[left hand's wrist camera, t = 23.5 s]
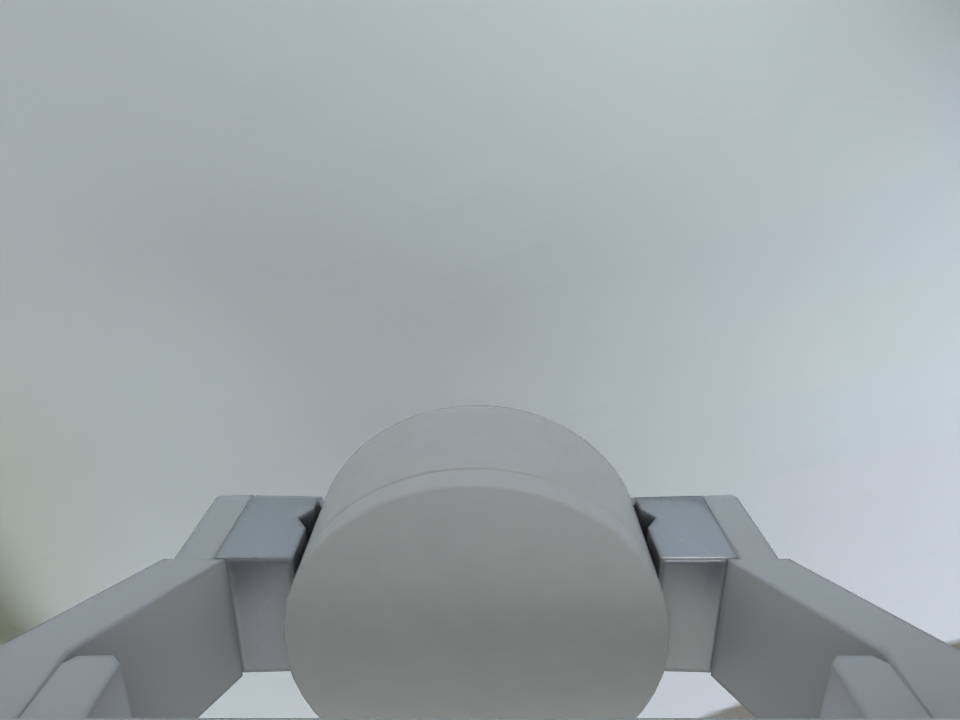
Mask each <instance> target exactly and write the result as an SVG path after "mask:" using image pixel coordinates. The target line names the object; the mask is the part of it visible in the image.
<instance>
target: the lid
mask: <svg viewBox="0 0 960 720" xmlns="http://www.w3.org/2000/svg"><path fill="white" fill-rule="evenodd" d="M283 640H284V646H285V652H286V657H287V662H288V665H289V667H290V670H291V673H292V676H293V679H294V681H295V683H296V684H297V686H298V688H299V690H300V692H301V694H302V696H303V697H304V699H305V700H306V701H307V703H308V704H309V705H310V707H311V708H312V709H313V711H314V712H315V713H316V714H317V715H318V716H319V717H320V718H636V717H637V716H638V715H639V714H640V713H641V712H642V711H643V709H644V708H645V706H646V705H647V703H648V702H649V700H650V699H651V697H652V696H653V694H654V693H655V691H656V688H657V686H658V684H659V682H660V680H661V678H662V675H663V672H664V669H665V665H666V661H667V658H668V653H669V643H670V622H669V613H668V609H667V605H666V601H665V596H664V593H663V590H662V587H661V584H660V581H659V579H658V577H657V573H656V570H655V567H654V564H653V561H652V558H651V555H650V552H649V549H648V546H647V543H646V541H645V538H644V535H643V532H642V529H641V526H640V523H639V520H638V517H637V514H636V511H635V508H634V505H633V503H632V500H631V498H630V496H629V493H628V491H627V489H626V486H625V485H624V483H623V481H622V480H621V478H620V477H619V475H618V473H617V472H616V470H615V469H614V468H613V467H612V465H611V464H610V463H609V462H608V461H607V460H606V458H605V457H604V456H603V455H602V454H601V453H600V452H599V451H597V450H596V449H595V448H594V447H593V446H592V445H591V444H590V443H588V442H587V441H586V440H584V439H583V438H581V437H580V436H578V435H577V434H575V433H574V432H572V431H571V430H569V429H567V428H565V427H563V426H561V425H559V424H557V423H555V422H553V421H551V420H549V419H546V418H543V417H540V416H537V415H535V414H532V413H529V412H525V411H520V410H515V409H511V408H506V407H495V406H485V405H481V406H458V407H450V408H443V409H438V410H434V411H430V412H427V413H423V414H419V415H416V416H414V417H411V418H409V419H406V420H404V421H401V422H399V423H397V424H395V425H393V426H391V427H390V428H388V429H386V430H384V431H382V432H381V433H379V434H378V435H376V436H375V437H373V438H372V439H371V440H369V441H368V442H367V443H365V444H364V445H363V446H362V447H361V448H360V449H359V450H358V451H357V452H356V453H355V454H354V455H353V456H352V457H351V458H350V459H349V460H348V461H347V462H346V463H345V465H344V466H343V467H342V469H341V470H340V471H339V473H338V474H337V476H336V477H335V479H334V481H333V483H332V485H331V487H330V489H329V491H328V493H327V495H326V498H325V501H324V503H323V506H322V508H321V511H320V513H319V516H318V519H317V521H316V524H315V526H314V529H313V531H312V534H311V537H310V539H309V542H308V544H307V547H306V549H305V552H304V555H303V557H302V560H301V563H300V565H299V567H298V570H297V573H296V575H295V578H294V580H293V583H292V586H291V589H290V592H289V595H288V597H287V600H286V606H285V612H284V618H283Z"/></svg>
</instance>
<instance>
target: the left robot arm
mask: <svg viewBox="0 0 960 720" xmlns="http://www.w3.org/2000/svg"><path fill="white" fill-rule="evenodd" d="M631 500H632V503H633V505H634V508H635V511H636V514H637V517H638V520H639V523H640V526H641V529H642V532H643V535H644V538H645V541H646V543H647V546H648V549H649V552H650V555H651V558H652V561H653V564H654V567H655V570H656V573H657V577H658V579H659V581H660V584H661V587H662V590H663V593H664V596H665V601H666V605H667V609H668V613H669V622H670V643H669V653H668V658H667V661H666V665H665V669H664V671H682V672H711V676H712V677H713V678H714V679H715V680H716V681H718V682H719V683H720V684H721V685H722V686H723V687H724V688H725V689H726V690H727V691H728V692H729V693H730V694H731V695H732V696H733V697H734V698H735V699H736V700H738V701H739V702H740V703H741V704H742V705H743V706H744V707H745V708H746V709H747V710H748V711H749V712H750V713H751V714H752V715H753V716H754V717H755V718H198V717H199V716H200V715H201V714H202V713H203V712H204V711H206V710H207V709H208V708H209V707H210V706H211V705H212V704H213V703H214V702H215V701H216V700H217V699H218V698H219V697H220V696H222V695H223V694H224V693H225V692H226V691H227V690H228V689H229V688H230V687H231V686H232V685H233V684H234V683H235V682H236V681H237V680H239V679H240V678H241V677H242V672H271V671H291V670H290V667H289V665H288V662H287V657H286V652H285V646H284V640H283V618H284V612H285V606H286V600H287V597H288V595H289V592H290V589H291V586H292V583H293V580H294V578H295V575H296V573H297V570H298V567H299V565H300V563H301V560H302V557H303V555H304V552H305V549H306V547H307V544H308V542H309V539H310V537H311V534H312V531H313V529H314V526H315V524H316V521H317V519H318V516H319V513H320V511H321V508H322V506H323V503H324V501H323V499H322V497H311V496H260V495H257V496H254V495H223V496H220V497H217V498H216V499H215V500H214V502H213V503H212V505H211V506H210V508H209V509H208V511H207V512H206V514H205V515H204V516H203V518H202V519H201V521H200V522H199V524H198V525H197V527H196V528H195V529H194V531H193V532H192V534H191V535H190V537H189V538H188V540H187V541H186V543H185V544H184V545H183V547H182V548H181V550H180V551H179V553H178V554H177V556H176V557H175V558H174V559H163V560H161V561H159V562H157V563H155V564H153V565H152V566H150V567H148V568H146V569H144V570H142V571H140V572H138V573H136V574H135V575H133V576H131V577H129V578H127V579H125V580H123V581H121V582H120V583H118V584H116V585H114V586H112V587H110V588H108V589H106V590H104V591H103V592H101V593H99V594H97V595H95V596H93V597H91V598H89V599H87V600H86V601H84V602H82V603H80V604H78V605H76V606H74V607H72V608H71V609H69V610H67V611H65V612H63V613H61V614H59V615H57V616H55V617H54V618H52V619H50V620H48V621H46V622H44V623H42V624H40V625H38V626H37V627H35V628H33V629H31V630H29V631H27V632H25V633H23V634H22V635H20V636H18V637H16V638H14V639H12V640H10V641H8V642H6V643H5V644H3V645H1V646H0V720H960V650H958V649H956V648H954V647H952V646H950V645H948V644H947V643H945V642H943V641H941V640H939V639H937V638H935V637H934V636H932V635H930V634H928V633H926V632H924V631H922V630H921V629H919V628H917V627H915V626H913V625H911V624H909V623H907V622H906V621H904V620H902V619H900V618H898V617H896V616H894V615H893V614H891V613H889V612H887V611H885V610H883V609H881V608H880V607H878V606H876V605H874V604H872V603H870V602H868V601H867V600H865V599H863V598H861V597H859V596H857V595H855V594H854V593H852V592H850V591H848V590H846V589H844V588H842V587H841V586H839V585H837V584H835V583H833V582H831V581H829V580H827V579H826V578H824V577H822V576H820V575H818V574H816V573H814V572H813V571H811V570H809V569H807V568H805V567H803V566H801V565H800V564H798V563H796V562H794V561H792V560H790V559H779V558H778V557H777V555H776V554H775V552H774V551H773V549H772V548H771V547H770V545H769V544H768V542H767V541H766V539H765V538H764V536H763V535H762V533H761V532H760V530H759V529H758V527H757V526H756V525H755V523H754V522H753V520H752V519H751V517H750V516H749V514H748V513H747V511H746V510H745V508H744V507H743V505H742V504H741V503H740V501H739V500H738V498H737V497H735V496H733V495H710V496H674V497H635V498H631Z"/></svg>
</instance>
